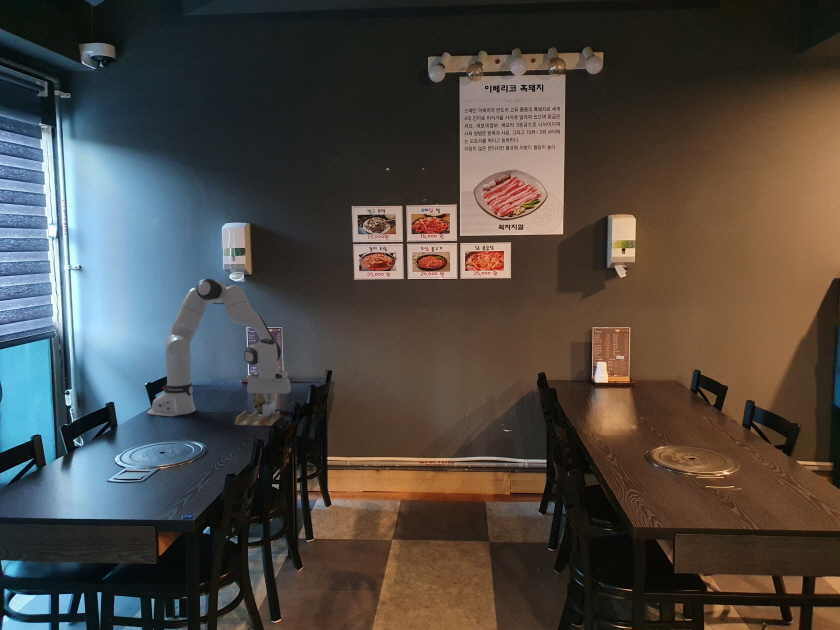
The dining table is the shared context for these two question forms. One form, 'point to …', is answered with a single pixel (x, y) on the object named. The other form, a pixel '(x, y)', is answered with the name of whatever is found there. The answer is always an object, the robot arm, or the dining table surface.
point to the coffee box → (260, 401)
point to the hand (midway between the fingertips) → (269, 402)
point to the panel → (268, 410)
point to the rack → (256, 419)
